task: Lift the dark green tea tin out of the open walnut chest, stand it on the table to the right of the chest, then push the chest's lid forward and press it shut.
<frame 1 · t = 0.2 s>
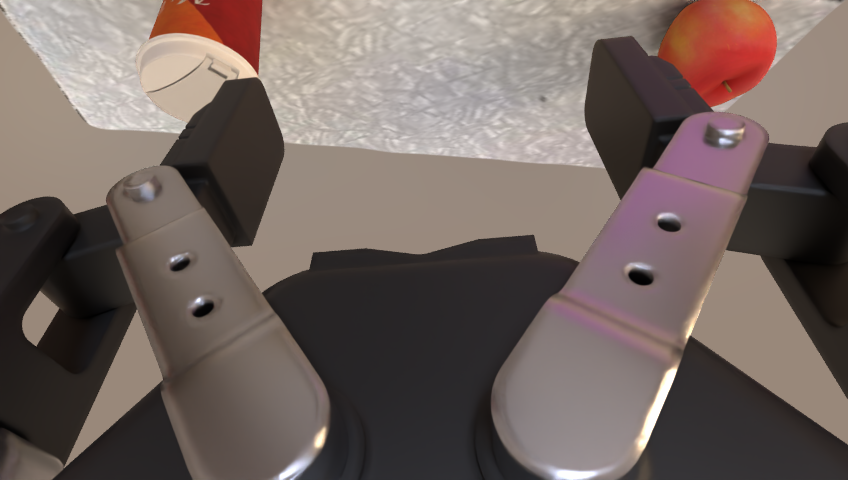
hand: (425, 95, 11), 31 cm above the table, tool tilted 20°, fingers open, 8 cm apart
apple: (695, 13, 47), on the table
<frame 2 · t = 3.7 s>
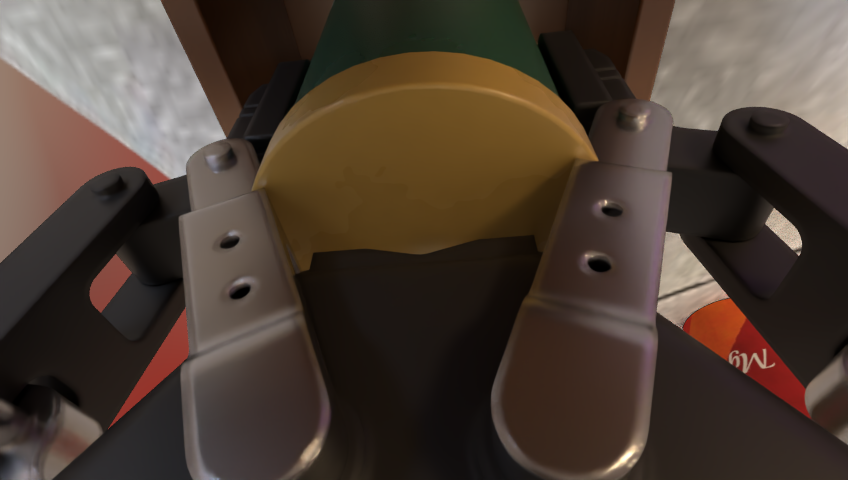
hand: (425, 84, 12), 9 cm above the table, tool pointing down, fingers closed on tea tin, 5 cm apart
coffee cup: (723, 319, 35), on the table
when the fingers open (8 cm above the table, at t = 11.2 s): tea tin stays where it is, on the table.
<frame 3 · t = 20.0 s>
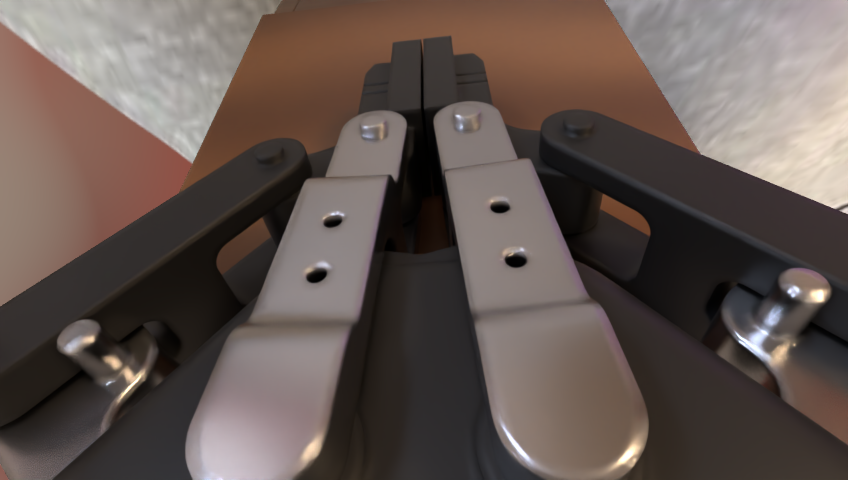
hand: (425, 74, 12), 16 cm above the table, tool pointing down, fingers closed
chest lid: (426, 126, 13), point 16 cm above the table, hinge at 85.5°, touching gripper
chest: (434, 82, 29), on the table
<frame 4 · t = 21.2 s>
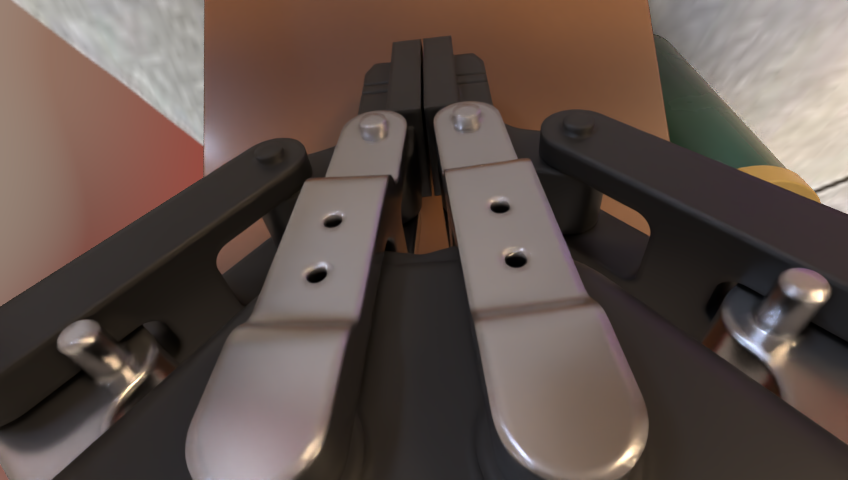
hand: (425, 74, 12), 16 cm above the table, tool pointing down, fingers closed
chest lid: (423, 88, 13), point 15 cm above the table, hinge at 53.8°, touching gripper
tea tin: (628, 79, 29), on the table
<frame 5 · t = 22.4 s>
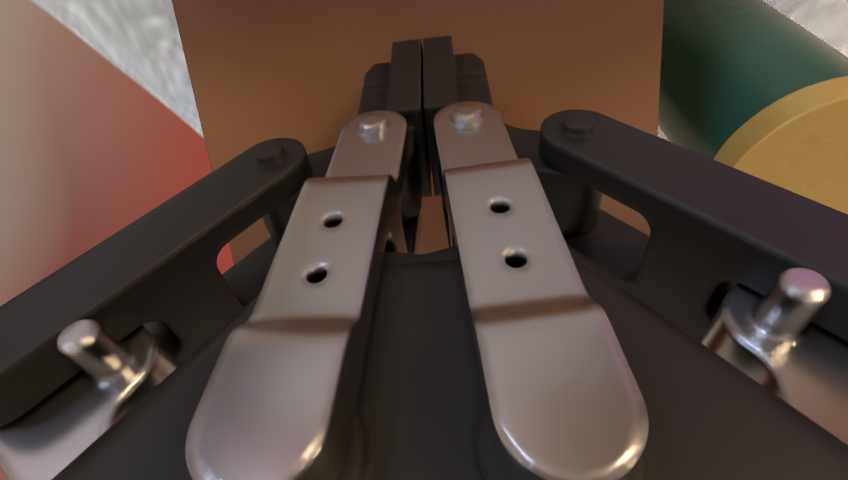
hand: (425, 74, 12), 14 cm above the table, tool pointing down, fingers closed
tea tin: (656, 14, 24), on the table
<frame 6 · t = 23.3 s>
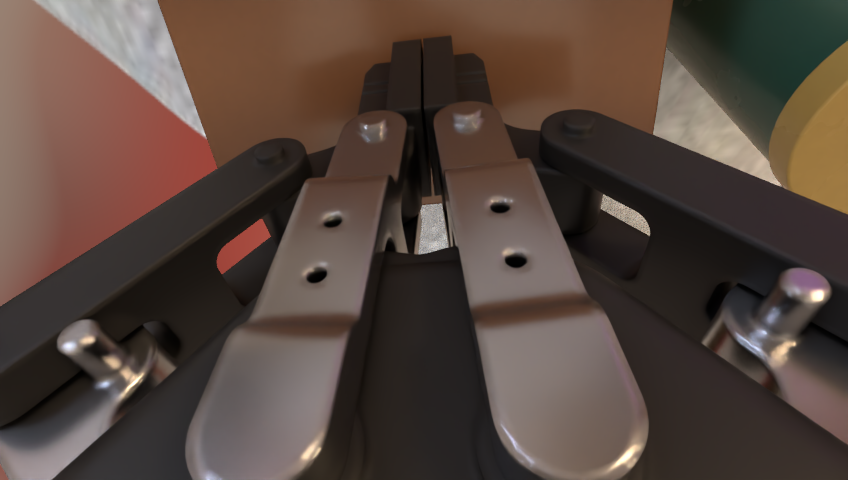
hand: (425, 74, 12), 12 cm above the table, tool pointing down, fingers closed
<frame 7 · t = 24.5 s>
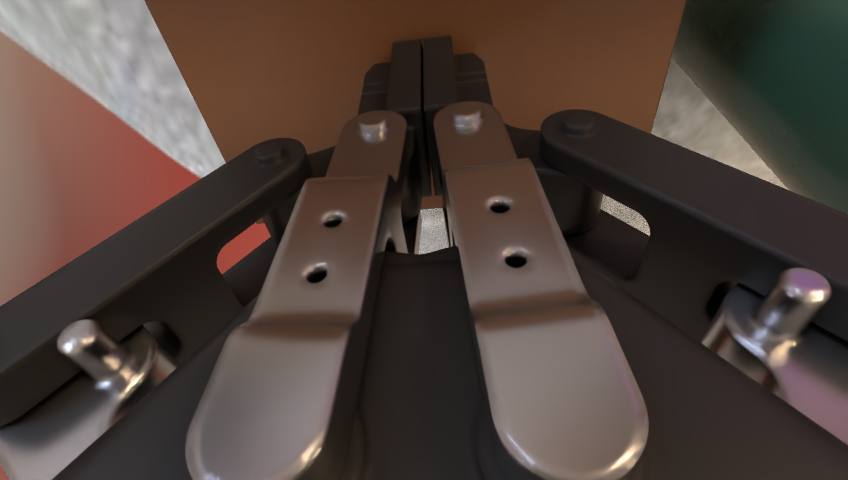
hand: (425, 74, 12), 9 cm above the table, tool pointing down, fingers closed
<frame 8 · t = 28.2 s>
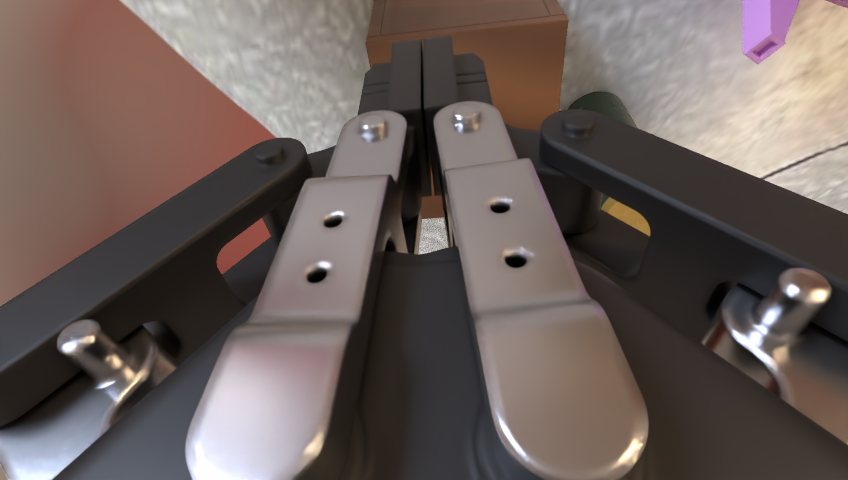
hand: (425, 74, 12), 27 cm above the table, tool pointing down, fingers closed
chest lid: (469, 134, 35), point 8 cm above the table, hinge at 0.1°
tea tin: (593, 119, 44), on the table
chest: (462, 77, 41), on the table
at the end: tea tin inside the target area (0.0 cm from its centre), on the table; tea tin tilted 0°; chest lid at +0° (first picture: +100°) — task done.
